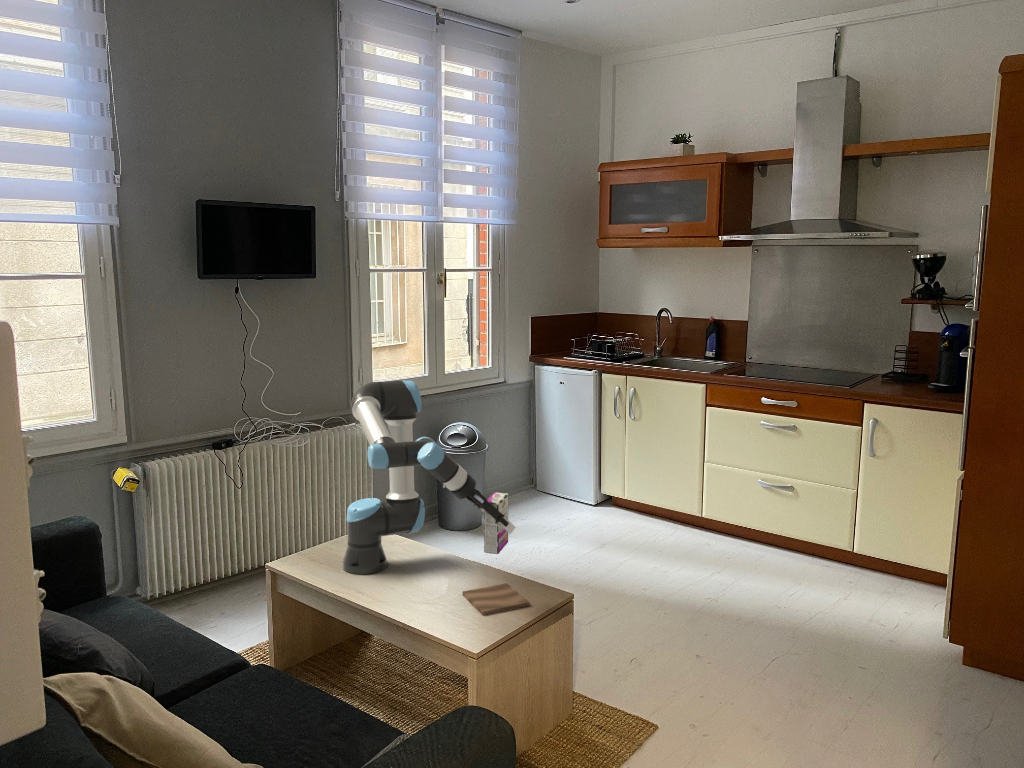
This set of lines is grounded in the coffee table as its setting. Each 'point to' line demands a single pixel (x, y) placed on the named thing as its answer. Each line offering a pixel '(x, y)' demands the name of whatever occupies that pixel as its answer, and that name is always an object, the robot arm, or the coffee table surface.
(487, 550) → the candy bar box
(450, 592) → the coffee table surface
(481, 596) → the walnut board
